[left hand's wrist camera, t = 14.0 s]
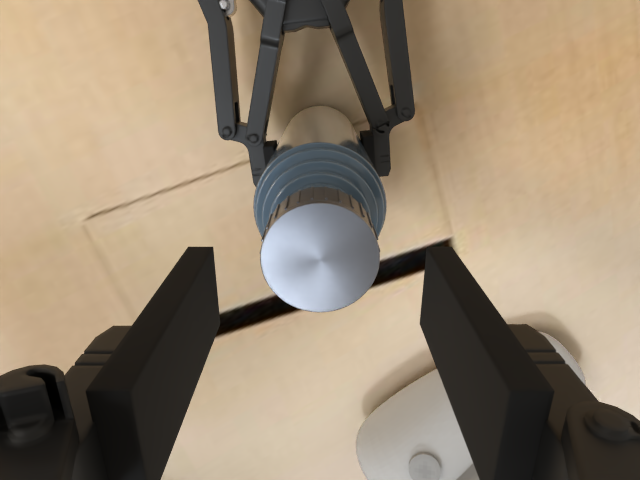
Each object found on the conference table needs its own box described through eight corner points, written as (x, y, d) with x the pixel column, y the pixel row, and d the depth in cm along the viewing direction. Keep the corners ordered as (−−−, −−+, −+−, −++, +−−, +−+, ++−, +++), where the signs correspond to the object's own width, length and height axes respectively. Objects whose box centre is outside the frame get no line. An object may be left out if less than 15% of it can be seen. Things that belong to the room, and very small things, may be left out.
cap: (385, 194, 18) (393, 211, 16) (363, 294, 19) (368, 321, 17) (272, 177, 17) (266, 192, 15) (259, 279, 19) (252, 305, 17)
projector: (544, 484, 54) (620, 627, 40) (351, 486, 54) (362, 628, 40) (581, 323, 46) (691, 433, 32) (354, 325, 46) (369, 436, 32)
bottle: (362, 112, 39) (426, 184, 16) (349, 184, 41) (387, 341, 18) (288, 99, 38) (241, 155, 15) (278, 173, 41) (225, 318, 18)
